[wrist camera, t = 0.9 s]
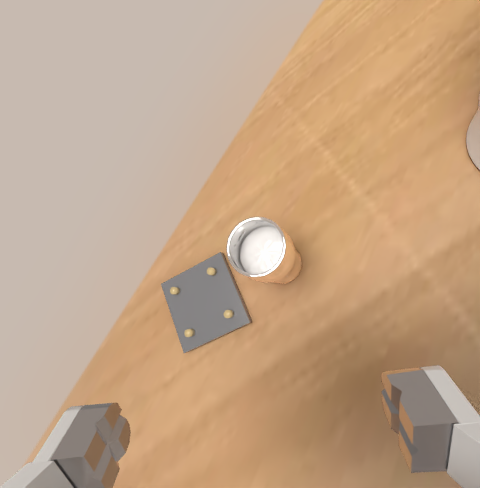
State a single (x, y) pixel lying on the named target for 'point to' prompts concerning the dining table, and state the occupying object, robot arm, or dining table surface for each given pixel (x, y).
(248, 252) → the beer glass
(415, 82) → the dining table surface
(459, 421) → the robot arm
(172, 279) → the coaster
